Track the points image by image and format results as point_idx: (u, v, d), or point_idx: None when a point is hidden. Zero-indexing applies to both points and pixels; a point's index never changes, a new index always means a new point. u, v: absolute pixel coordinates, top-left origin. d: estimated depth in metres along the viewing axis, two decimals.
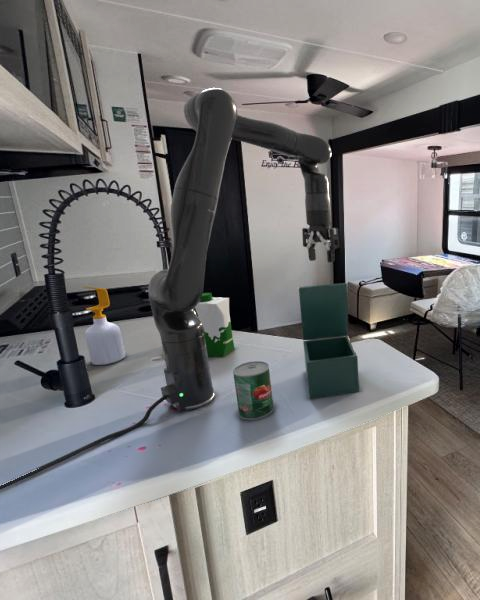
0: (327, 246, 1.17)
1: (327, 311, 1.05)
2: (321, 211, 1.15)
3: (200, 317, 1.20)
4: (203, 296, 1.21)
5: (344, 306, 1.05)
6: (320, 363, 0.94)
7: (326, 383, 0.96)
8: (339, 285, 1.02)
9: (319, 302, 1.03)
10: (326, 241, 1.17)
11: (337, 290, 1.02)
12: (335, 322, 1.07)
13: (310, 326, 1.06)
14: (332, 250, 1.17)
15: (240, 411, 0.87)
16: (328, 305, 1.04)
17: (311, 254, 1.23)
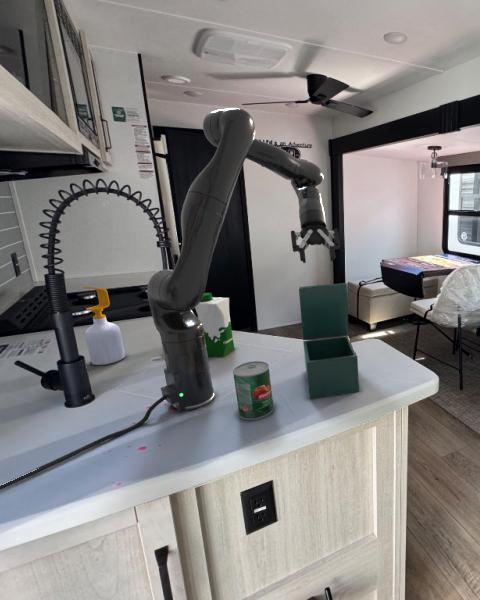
0: (330, 243, 1.10)
1: (327, 311, 1.05)
2: (323, 214, 1.15)
3: (200, 317, 1.20)
4: (203, 296, 1.21)
5: (344, 306, 1.05)
6: (320, 363, 0.94)
7: (326, 383, 0.96)
8: (339, 285, 1.02)
9: (319, 302, 1.03)
10: None
11: (337, 290, 1.02)
12: (335, 322, 1.07)
13: (310, 326, 1.06)
14: (334, 248, 1.11)
15: (240, 411, 0.87)
16: (328, 305, 1.04)
17: (304, 254, 1.07)
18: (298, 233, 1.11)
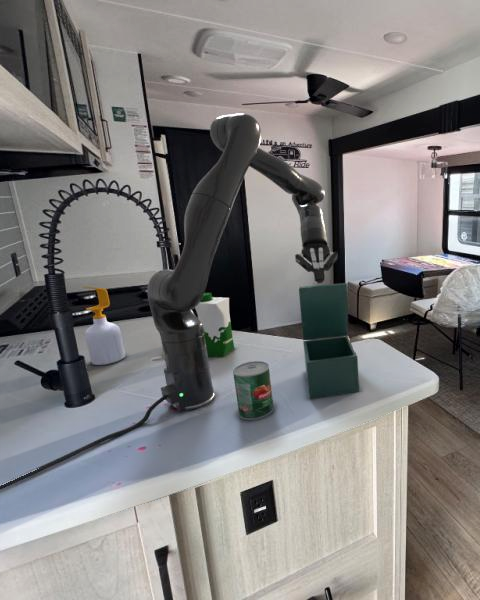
0: (321, 264, 1.10)
1: (327, 311, 1.05)
2: (325, 232, 1.16)
3: (200, 317, 1.20)
4: (203, 296, 1.21)
5: (344, 306, 1.05)
6: (320, 363, 0.94)
7: (326, 383, 0.96)
8: (339, 285, 1.02)
9: (319, 302, 1.03)
10: (323, 260, 1.11)
11: (337, 290, 1.02)
12: (335, 322, 1.07)
13: (310, 326, 1.06)
14: (323, 270, 1.10)
15: (240, 411, 0.87)
16: (328, 305, 1.04)
17: (319, 274, 1.09)
18: (301, 254, 1.12)
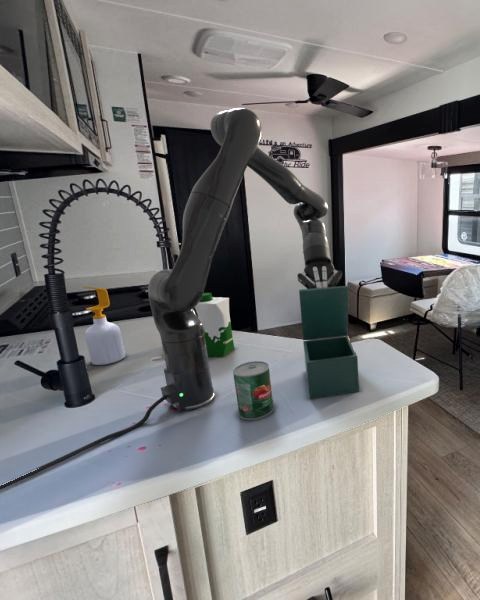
0: (325, 284, 1.05)
1: (327, 313, 1.04)
2: (328, 249, 1.11)
3: (200, 317, 1.20)
4: (203, 296, 1.21)
5: (345, 308, 1.05)
6: (320, 363, 0.94)
7: (326, 383, 0.96)
8: (340, 288, 1.01)
9: (319, 304, 1.02)
10: (326, 280, 1.06)
11: (338, 293, 1.01)
12: (335, 323, 1.07)
13: (310, 327, 1.05)
14: None
15: (240, 411, 0.87)
16: (329, 307, 1.03)
17: None
18: (304, 273, 1.06)
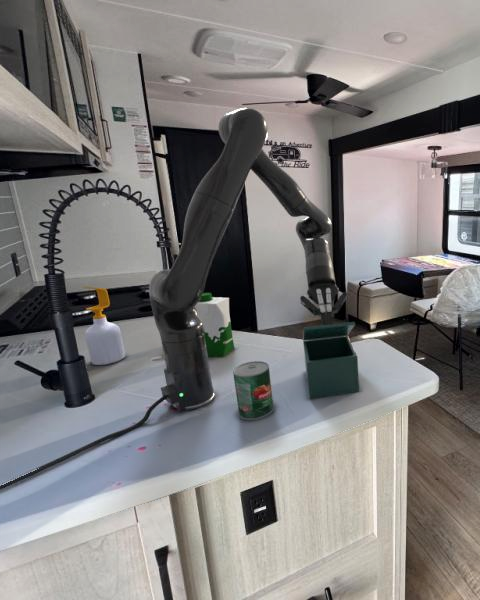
0: (329, 307, 1.00)
1: (330, 332, 1.01)
2: (332, 270, 1.06)
3: (200, 317, 1.20)
4: (203, 296, 1.21)
5: (349, 330, 1.01)
6: (320, 363, 0.94)
7: (326, 383, 0.96)
8: (347, 325, 0.95)
9: (323, 331, 0.98)
10: None
11: (344, 327, 0.96)
12: (336, 334, 1.05)
13: (311, 337, 1.04)
14: (332, 313, 1.00)
15: (240, 411, 0.87)
16: (332, 331, 0.99)
17: None
18: (307, 295, 1.01)
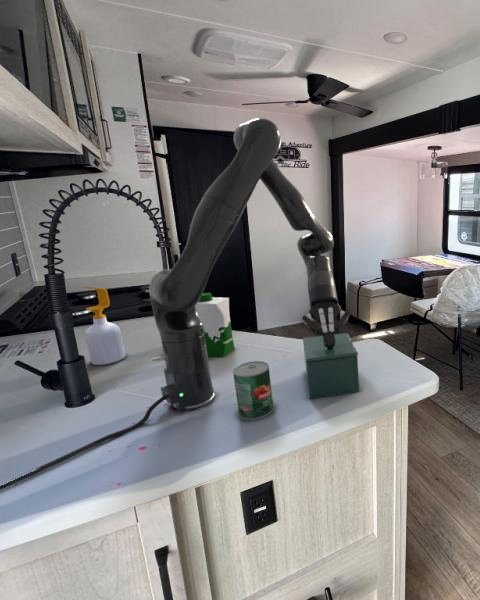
0: (331, 327, 0.99)
1: None
2: (335, 288, 1.05)
3: (200, 317, 1.20)
4: (203, 296, 1.21)
5: None
6: (320, 363, 0.94)
7: (326, 383, 0.96)
8: (349, 356, 0.95)
9: None
10: None
11: None
12: None
13: None
14: (334, 333, 0.99)
15: (240, 411, 0.87)
16: None
17: (329, 339, 0.98)
18: (309, 315, 1.01)
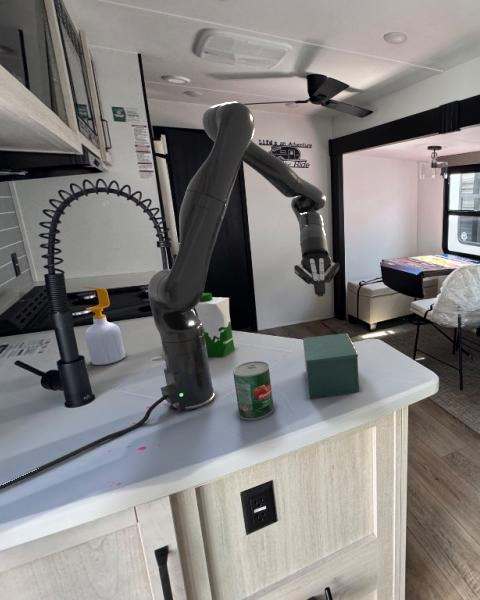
0: (322, 276, 1.03)
1: None
2: (326, 241, 1.09)
3: (200, 317, 1.20)
4: (203, 296, 1.21)
5: None
6: (320, 363, 0.94)
7: (326, 383, 0.96)
8: (349, 357, 0.95)
9: None
10: (323, 272, 1.04)
11: None
12: None
13: None
14: (324, 282, 1.04)
15: (240, 411, 0.87)
16: None
17: None
18: (300, 265, 1.05)
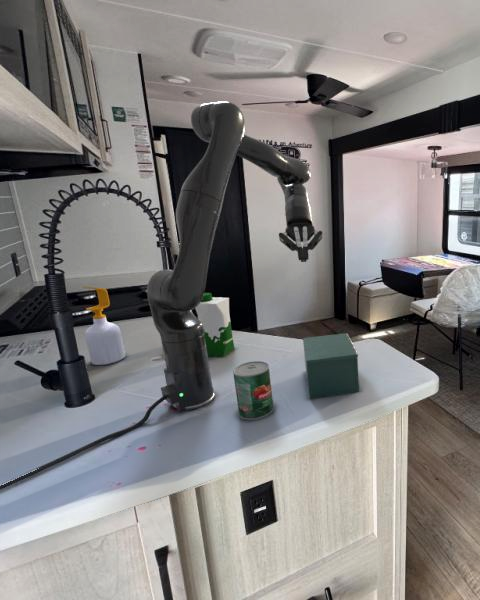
0: (305, 243, 1.08)
1: None
2: (310, 211, 1.14)
3: (200, 317, 1.20)
4: (203, 296, 1.21)
5: None
6: (320, 363, 0.94)
7: (326, 383, 0.96)
8: (349, 357, 0.95)
9: None
10: (307, 239, 1.09)
11: None
12: None
13: None
14: (308, 249, 1.09)
15: (240, 411, 0.87)
16: None
17: None
18: (285, 233, 1.10)
